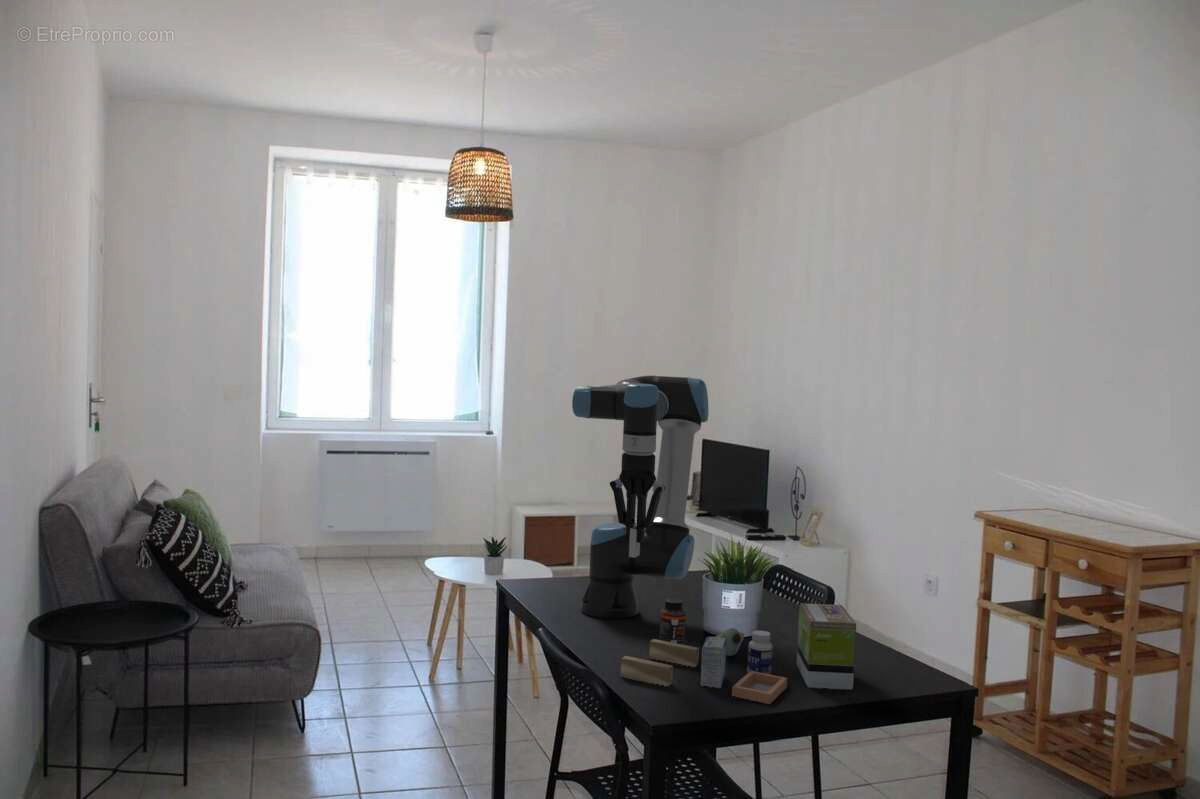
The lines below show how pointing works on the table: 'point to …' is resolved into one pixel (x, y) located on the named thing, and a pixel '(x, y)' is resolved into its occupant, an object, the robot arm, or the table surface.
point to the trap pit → (759, 687)
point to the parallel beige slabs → (659, 671)
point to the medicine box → (713, 662)
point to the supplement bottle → (672, 622)
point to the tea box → (826, 646)
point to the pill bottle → (760, 652)
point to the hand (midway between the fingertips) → (634, 555)
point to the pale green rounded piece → (732, 640)
